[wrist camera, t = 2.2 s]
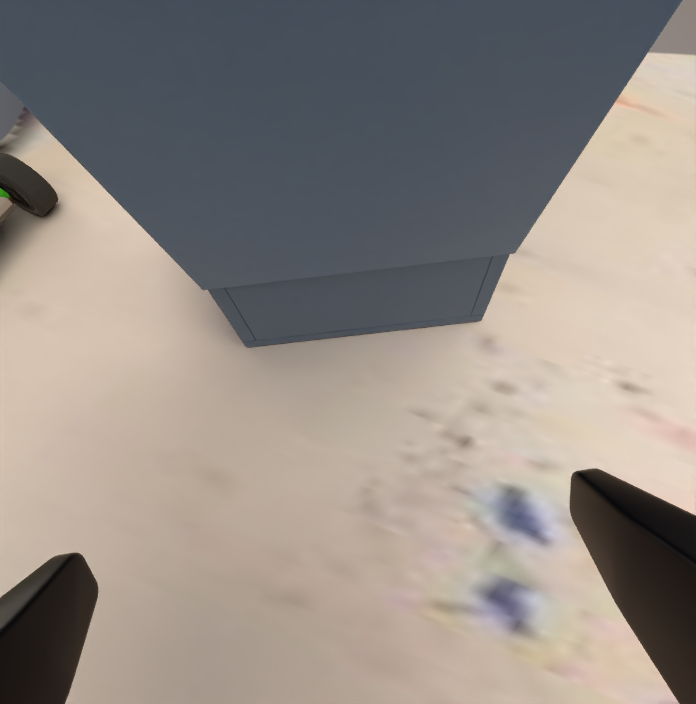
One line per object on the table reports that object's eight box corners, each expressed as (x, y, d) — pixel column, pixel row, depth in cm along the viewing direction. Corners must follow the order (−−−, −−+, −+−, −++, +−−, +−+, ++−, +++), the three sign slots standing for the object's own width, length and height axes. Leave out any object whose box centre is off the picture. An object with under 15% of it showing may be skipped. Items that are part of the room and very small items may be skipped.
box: (248, 186, 30) (217, 102, 25) (441, 162, 30) (455, 71, 24) (246, 348, 25) (206, 288, 19) (481, 321, 25) (511, 252, 19)
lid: (-162, -129, 6) (-172, -94, 6) (826, -278, 6) (847, -246, 6) (202, 276, 19) (202, 290, 19) (512, 239, 19) (515, 253, 19)
